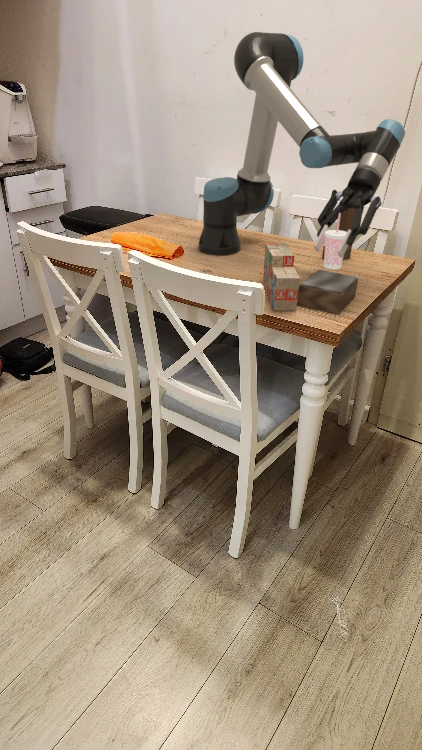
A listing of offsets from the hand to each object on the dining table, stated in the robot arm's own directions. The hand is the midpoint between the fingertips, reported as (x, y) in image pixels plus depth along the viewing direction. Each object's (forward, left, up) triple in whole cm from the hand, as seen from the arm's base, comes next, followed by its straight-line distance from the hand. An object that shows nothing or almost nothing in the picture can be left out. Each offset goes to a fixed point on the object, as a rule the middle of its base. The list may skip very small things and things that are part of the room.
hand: (327, 251), depth 125 cm
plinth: (+1, +4, -15) cm, 15 cm away
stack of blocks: (-12, 0, -15) cm, 20 cm away
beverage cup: (+1, +4, -5) cm, 6 cm away
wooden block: (-9, +41, -15) cm, 44 cm away
